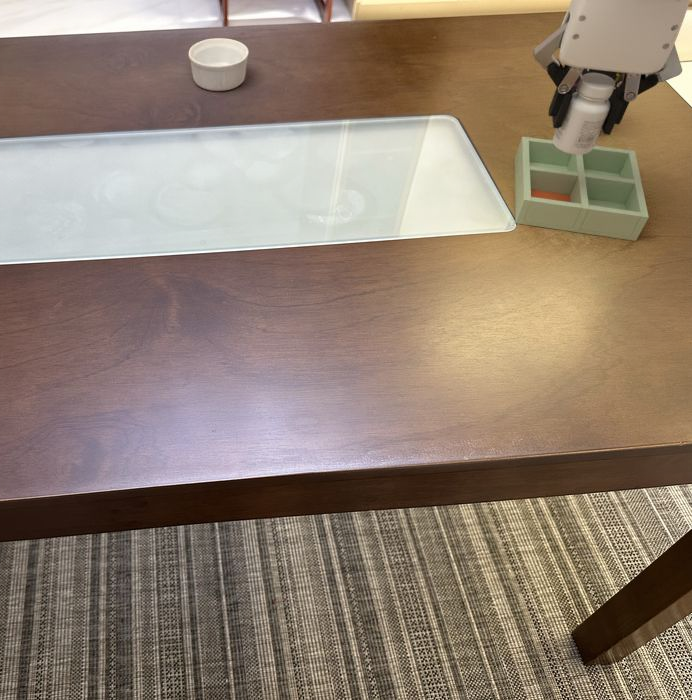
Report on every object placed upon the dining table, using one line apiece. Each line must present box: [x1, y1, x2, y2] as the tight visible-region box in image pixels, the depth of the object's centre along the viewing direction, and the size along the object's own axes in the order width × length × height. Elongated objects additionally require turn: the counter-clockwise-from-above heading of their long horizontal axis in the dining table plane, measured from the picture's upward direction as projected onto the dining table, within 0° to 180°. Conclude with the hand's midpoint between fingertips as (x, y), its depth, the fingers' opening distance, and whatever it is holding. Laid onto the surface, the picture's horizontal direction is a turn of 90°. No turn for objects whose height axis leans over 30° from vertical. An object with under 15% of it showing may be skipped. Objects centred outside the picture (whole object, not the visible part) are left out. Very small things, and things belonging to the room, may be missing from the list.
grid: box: [514, 136, 650, 242], centre depth 88 cm, size 14×14×4 cm
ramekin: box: [188, 37, 250, 92], centre depth 108 cm, size 9×9×4 cm
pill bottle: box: [552, 73, 615, 155], centre depth 78 cm, size 4×4×8 cm
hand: (580, 123), depth 79 cm, fingers closed on pill bottle, 4 cm apart
